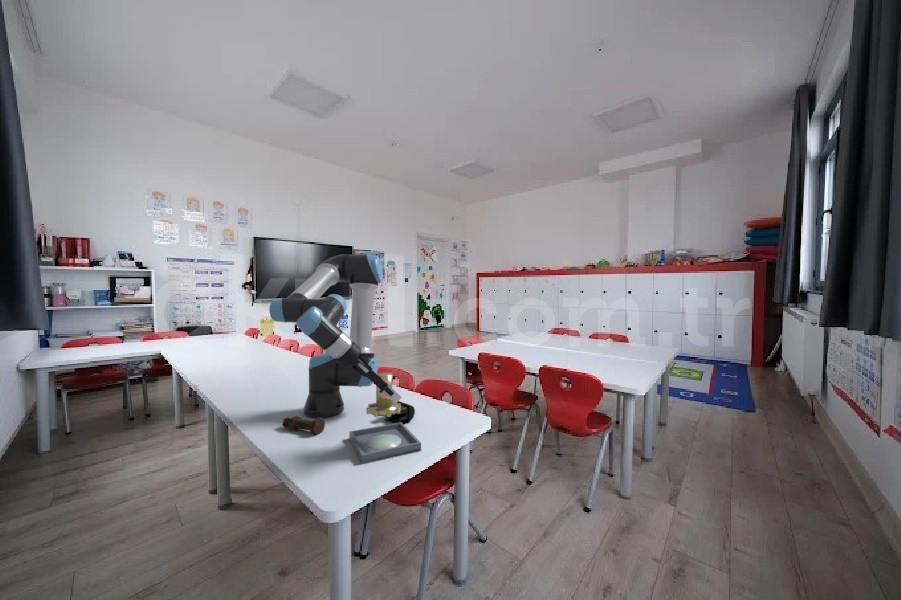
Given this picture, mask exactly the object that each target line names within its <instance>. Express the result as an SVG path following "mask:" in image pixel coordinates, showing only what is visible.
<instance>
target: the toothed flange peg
mask: <svg viewBox="0 0 901 600" xmlns="http://www.w3.org/2000/svg"><path fill="white" fill-rule="evenodd" d="M377 375H378V376H379V377H380V378H381V379H382V380H383V381H384V382H386V383H387V384H388V385H389V386H390V387H391V388H392V389H393V373H390V372H379V373H377ZM375 386H376V385H375ZM375 390H376V391H375V402H373V403H369V404H367V407H366V414H367V415H372V416H373V417H375V418H378V417H385V416H387V417H391V415H393V414H396V413H397V414H399V413H400V409H401V404H400V403H396V404H395V403H394V402H393V401H392V400H391V399H390V398H389V397H388V396H386V395H385V394H384V393H383V392H381V393H380V392H379V391H380V388H378V387H377V386H376V389H375Z"/></svg>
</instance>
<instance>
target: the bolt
mask: <svg viewBox="0 0 901 600" xmlns="http://www.w3.org/2000/svg"><path fill="white" fill-rule="evenodd" d="M281 424H282V427H284V428H288V429H289V430H290V431H291V430H295V431H298V430H303V431H309V432H311V433H312V435H313V436H318V434H319V435H320V433H321V434H322V433H323V431H324V430H325V428H326V427H325V424H326V423H325V420H324V419H323V417H322V418H320V417H319V418H314V420H309V419H302V418H301V417H300V415H295V416H293V417H286V418H284V419H283V420H282V423H281ZM297 429H298V430H297Z"/></svg>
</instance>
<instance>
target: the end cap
mask: <svg viewBox="0 0 901 600" xmlns="http://www.w3.org/2000/svg"><path fill="white" fill-rule="evenodd" d="M397 403H400V404H401V409H400V413H399V414H397V413H396V414H393V415H391V417H387V416H384V421H386V422H388V421H389V422H388V423H390V424H393V423H400V422H402V423H403V425H404V424H405V425H407V424H409V423H410V422H411V421H412V420H413V419H414V417H415V413H416V410H415V407H414V406H413V405H412V404H408V403H405V402H402V401H400V400H399V401H398V402H397ZM406 423H407V424H406ZM405 425H404V426H405Z"/></svg>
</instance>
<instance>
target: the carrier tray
mask: <svg viewBox="0 0 901 600" xmlns="http://www.w3.org/2000/svg"><path fill="white" fill-rule="evenodd" d="M348 433H349V434H348V435H349V437H348V439H349V441H350V443H351V444H352V447H353V449H354V451H355V453H356V454H357V457H358V458H359V460H360V463H361V465H363V464H368V463H373V462H376V460H377V461H381V459H382V460H386V459H390V457H391V458H394V457H393V456H395V457H398V456H403V454H404V455H407V454H411V453H412V454H413V453H417V452H420V451H422V442H421V441H420V440H419V439H418V438H417V437H416V436H415V435H414V434H413V432H412V431H410V430H409V428H407V426H406V425H403V423H402V422H400V423H394V424H393V423H390V424H389V423H388V424H384V425H377V426H372V427H366V428H361V429H356V430H355V429H354V430H350V431H348ZM385 458H386V459H385ZM372 461H373V462H372Z"/></svg>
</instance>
